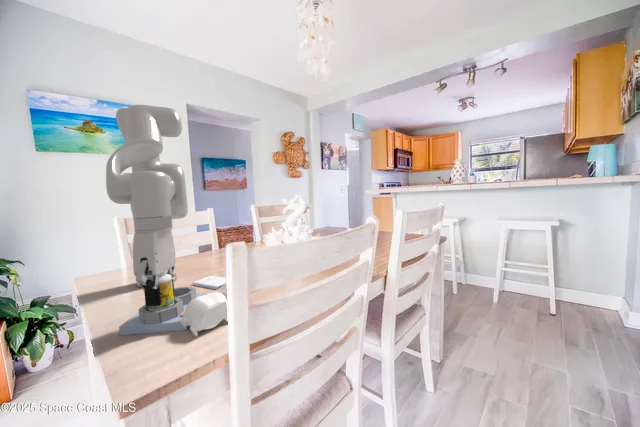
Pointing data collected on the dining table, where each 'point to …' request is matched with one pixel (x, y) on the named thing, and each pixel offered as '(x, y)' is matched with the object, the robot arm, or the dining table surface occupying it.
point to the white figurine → (206, 311)
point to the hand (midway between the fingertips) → (160, 299)
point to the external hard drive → (210, 282)
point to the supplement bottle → (164, 291)
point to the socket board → (152, 327)
